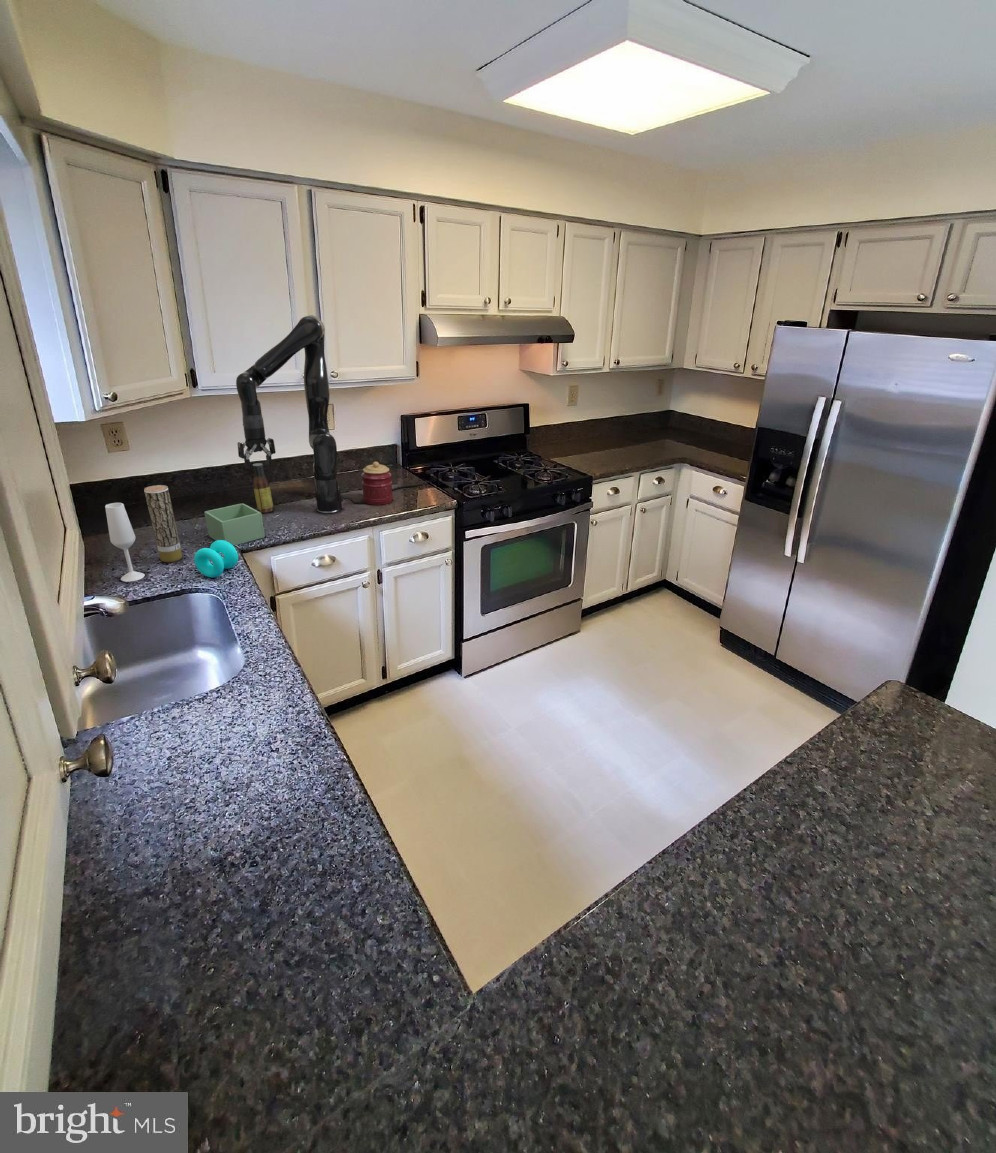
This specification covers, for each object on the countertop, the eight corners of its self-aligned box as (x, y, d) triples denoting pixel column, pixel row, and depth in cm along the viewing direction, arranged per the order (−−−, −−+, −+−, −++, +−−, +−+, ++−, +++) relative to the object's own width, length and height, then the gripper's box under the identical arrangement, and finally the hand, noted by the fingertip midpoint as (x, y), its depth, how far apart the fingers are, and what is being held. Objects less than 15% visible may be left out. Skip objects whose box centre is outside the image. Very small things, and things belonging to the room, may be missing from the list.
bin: (246, 526, 231) (243, 503, 227) (264, 537, 223) (261, 513, 218) (208, 535, 222) (204, 511, 218) (226, 547, 213) (221, 522, 209)
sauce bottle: (276, 509, 250) (270, 462, 242) (269, 514, 245) (263, 466, 236) (261, 508, 251) (254, 461, 242) (254, 513, 245) (247, 465, 236)
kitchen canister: (356, 501, 263) (353, 461, 255) (377, 494, 273) (375, 456, 265) (377, 507, 256) (375, 467, 249) (398, 500, 266) (397, 461, 258)
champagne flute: (119, 575, 190) (100, 504, 180) (143, 570, 194) (125, 500, 183) (122, 583, 185) (102, 510, 175) (146, 578, 189) (128, 506, 179)
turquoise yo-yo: (195, 576, 192) (189, 548, 187) (216, 564, 200) (211, 536, 196) (222, 581, 189) (216, 552, 185) (242, 568, 198) (237, 540, 194)
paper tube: (160, 564, 198) (143, 492, 187) (160, 556, 204) (144, 486, 193) (183, 561, 201) (168, 490, 190) (182, 553, 207) (167, 484, 196)
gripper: (240, 429, 225) (246, 471, 232) (275, 425, 235) (280, 465, 242) (231, 426, 230) (237, 467, 237) (266, 421, 239) (271, 461, 246)
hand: (259, 466), depth 239 cm, fingers open, 8 cm apart
